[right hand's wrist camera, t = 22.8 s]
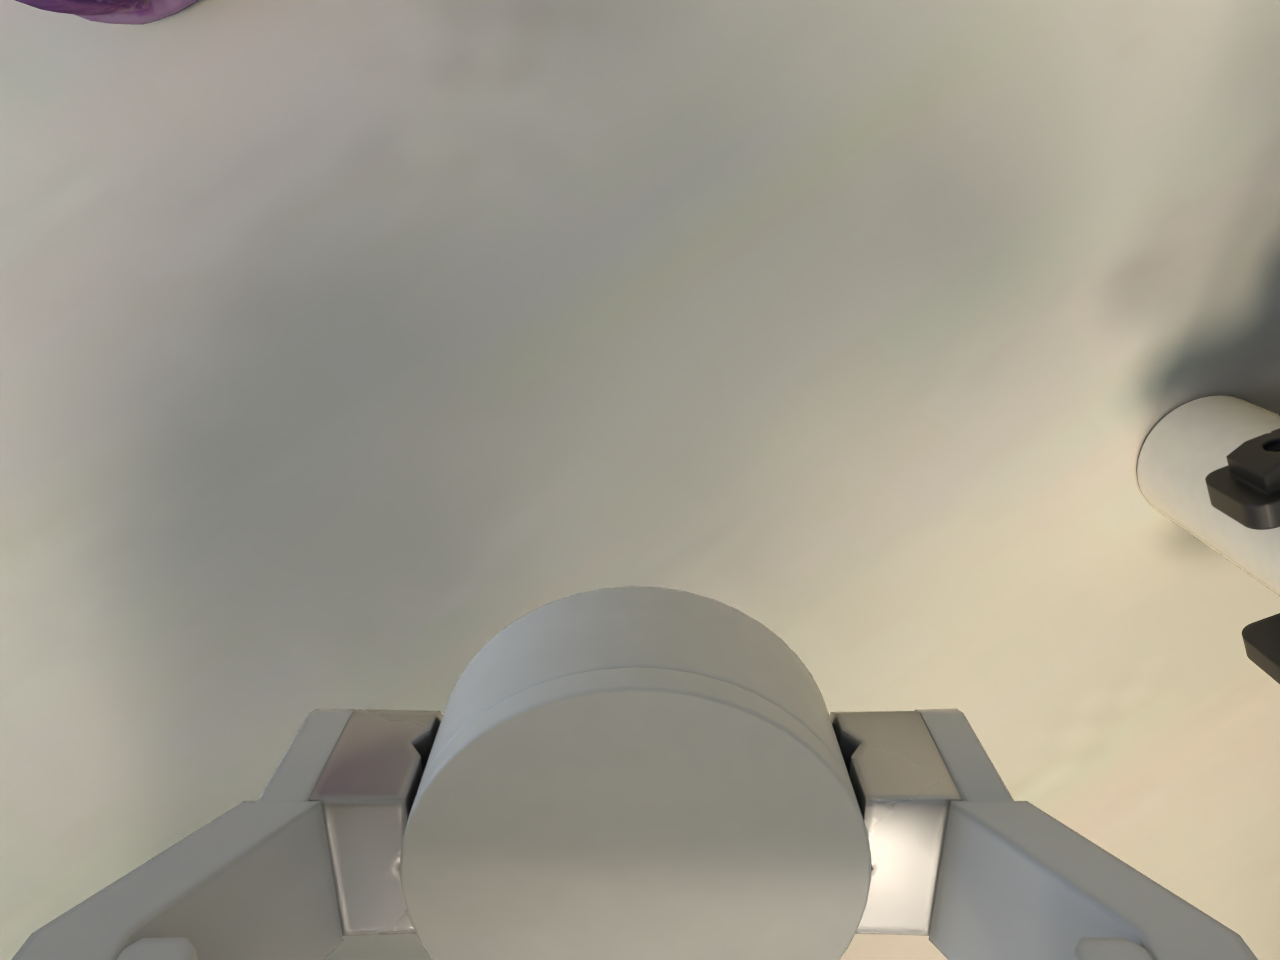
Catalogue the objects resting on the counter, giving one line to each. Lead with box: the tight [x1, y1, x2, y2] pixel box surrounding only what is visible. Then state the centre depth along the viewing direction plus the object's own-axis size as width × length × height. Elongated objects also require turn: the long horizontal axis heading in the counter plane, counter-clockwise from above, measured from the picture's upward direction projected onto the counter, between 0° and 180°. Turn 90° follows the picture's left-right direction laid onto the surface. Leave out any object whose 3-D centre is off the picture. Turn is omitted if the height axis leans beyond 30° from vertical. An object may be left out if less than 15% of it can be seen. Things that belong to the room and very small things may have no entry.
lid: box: [400, 586, 871, 960], centre depth 10 cm, size 5×5×2 cm
